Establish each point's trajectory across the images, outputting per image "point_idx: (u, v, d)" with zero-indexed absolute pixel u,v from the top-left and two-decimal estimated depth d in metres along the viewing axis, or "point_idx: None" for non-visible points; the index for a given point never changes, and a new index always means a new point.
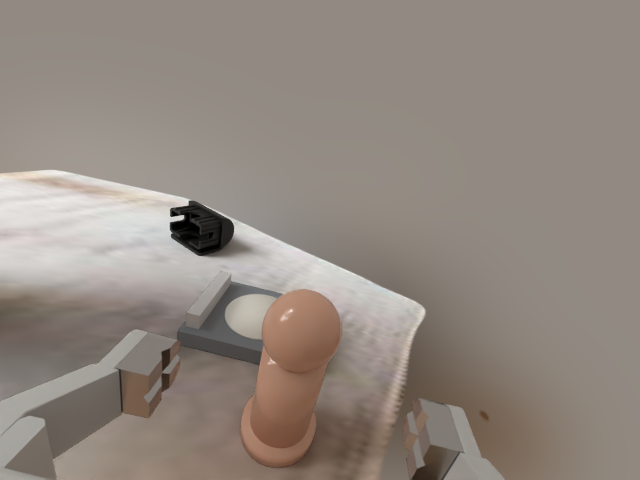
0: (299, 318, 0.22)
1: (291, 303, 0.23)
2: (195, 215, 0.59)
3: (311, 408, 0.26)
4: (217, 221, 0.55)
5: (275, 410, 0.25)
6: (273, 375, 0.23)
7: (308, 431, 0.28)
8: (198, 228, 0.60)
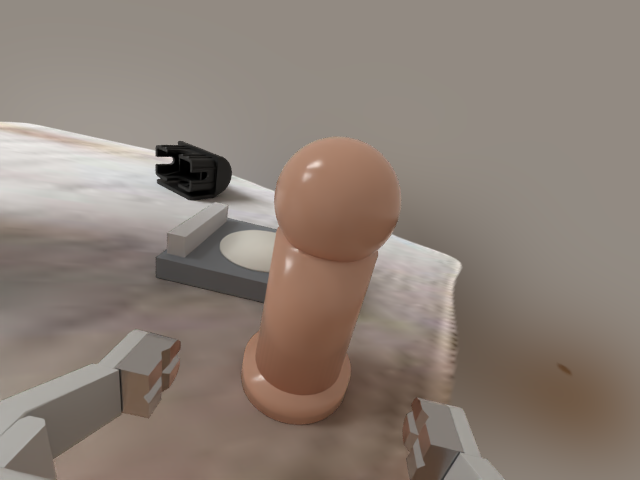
0: (339, 156, 0.13)
1: (324, 142, 0.14)
2: None
3: (349, 332, 0.17)
4: (211, 159, 0.46)
5: (297, 329, 0.16)
6: (294, 265, 0.15)
7: (341, 375, 0.19)
8: (189, 174, 0.51)
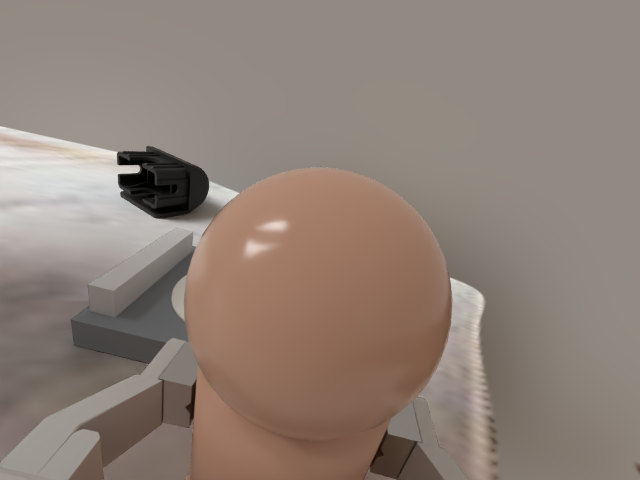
0: (314, 227, 0.05)
1: (283, 184, 0.06)
2: None
3: None
4: (182, 169, 0.38)
5: None
6: (223, 445, 0.07)
7: None
8: (160, 185, 0.43)
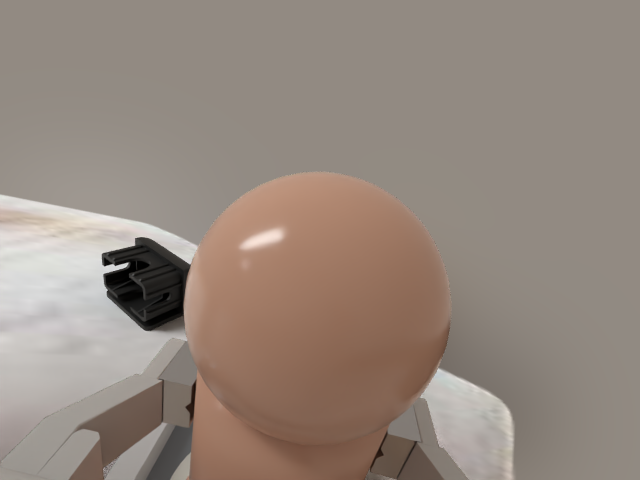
0: (314, 232, 0.05)
1: (283, 190, 0.06)
2: None
3: None
4: (175, 274, 0.34)
5: None
6: (223, 449, 0.07)
7: None
8: None
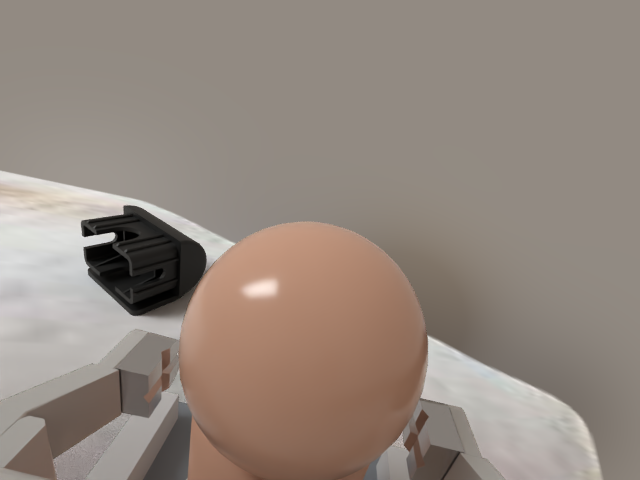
0: (295, 298, 0.06)
1: (269, 249, 0.07)
2: (135, 232, 0.32)
3: None
4: (170, 247, 0.28)
5: None
6: None
7: None
8: None
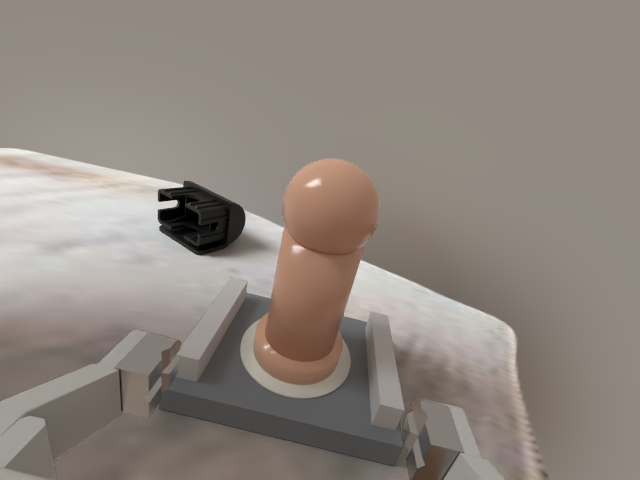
0: (331, 175, 0.17)
1: (320, 163, 0.18)
2: (192, 200, 0.43)
3: (341, 311, 0.21)
4: (223, 207, 0.39)
5: (299, 308, 0.20)
6: (297, 257, 0.19)
7: (334, 348, 0.24)
8: (196, 218, 0.45)
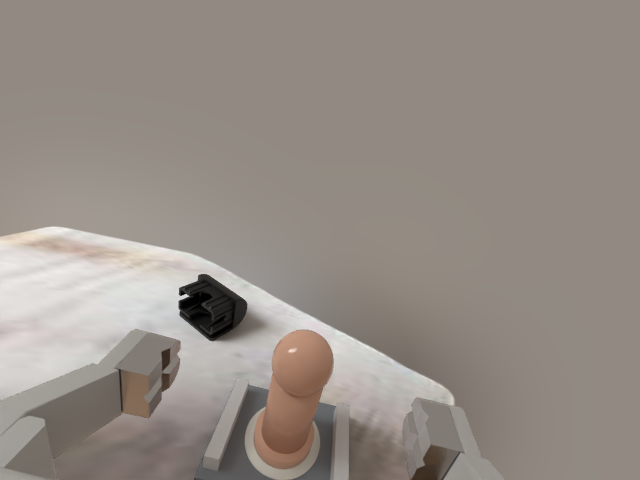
0: (300, 356, 0.29)
1: (294, 343, 0.30)
2: None
3: (310, 422, 0.33)
4: (230, 303, 0.51)
5: (282, 425, 0.32)
6: (281, 397, 0.31)
7: (308, 440, 0.35)
8: None
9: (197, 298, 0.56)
